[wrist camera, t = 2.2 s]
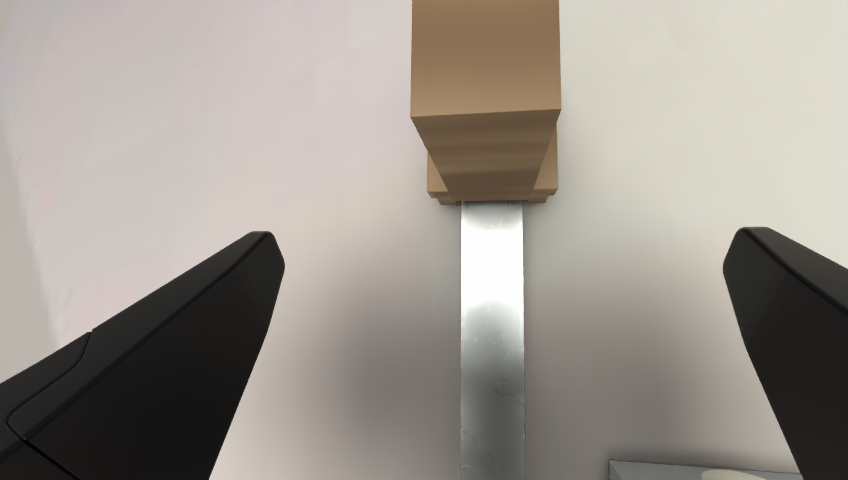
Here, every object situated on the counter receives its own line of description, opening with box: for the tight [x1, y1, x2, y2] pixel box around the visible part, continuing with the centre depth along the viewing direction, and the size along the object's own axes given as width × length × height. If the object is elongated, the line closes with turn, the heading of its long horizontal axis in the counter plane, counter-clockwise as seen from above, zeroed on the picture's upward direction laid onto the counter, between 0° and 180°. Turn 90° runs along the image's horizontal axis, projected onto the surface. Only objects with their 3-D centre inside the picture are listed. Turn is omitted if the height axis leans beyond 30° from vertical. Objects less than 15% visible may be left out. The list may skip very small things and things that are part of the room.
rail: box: [461, 200, 526, 480], centre depth 18 cm, size 24×4×3 cm, turn 179°
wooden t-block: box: [410, 0, 561, 205], centre depth 14 cm, size 5×5×11 cm
